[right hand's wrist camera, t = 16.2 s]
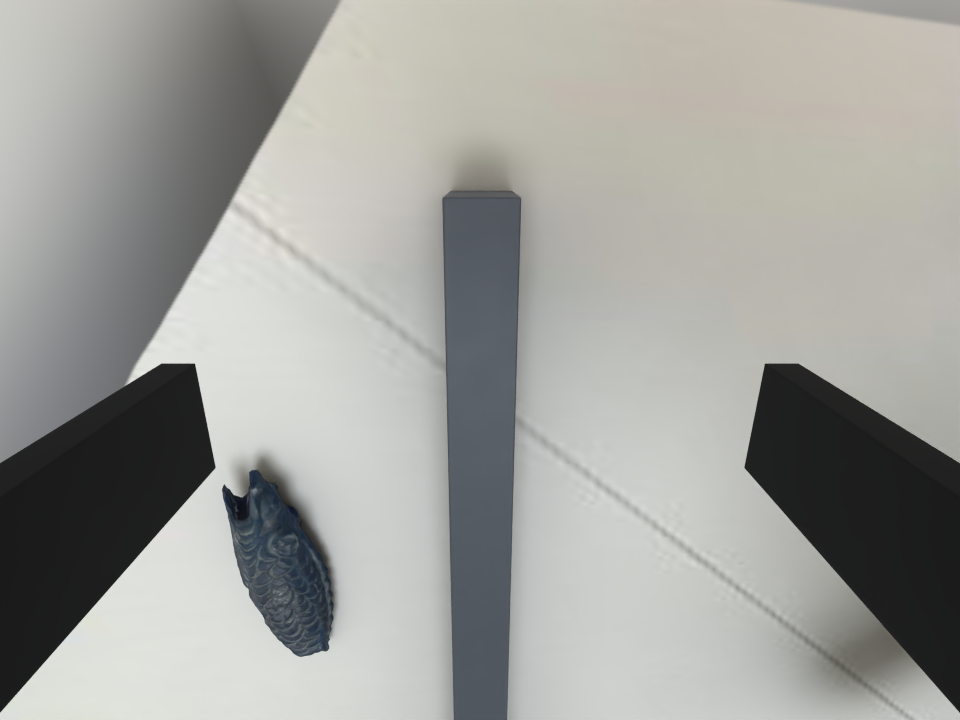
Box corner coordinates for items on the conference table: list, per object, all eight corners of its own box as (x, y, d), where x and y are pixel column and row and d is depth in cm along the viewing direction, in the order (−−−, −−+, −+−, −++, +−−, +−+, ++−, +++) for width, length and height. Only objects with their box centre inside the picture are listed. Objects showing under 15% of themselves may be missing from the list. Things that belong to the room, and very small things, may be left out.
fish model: (298, 453, 45) (276, 487, 40) (354, 636, 52) (341, 683, 48) (222, 462, 45) (192, 497, 41) (289, 643, 53) (269, 690, 48)
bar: (450, 191, 38) (442, 197, 30) (512, 191, 38) (521, 197, 30) (461, 864, 65) (459, 960, 57) (497, 864, 65) (500, 960, 57)
